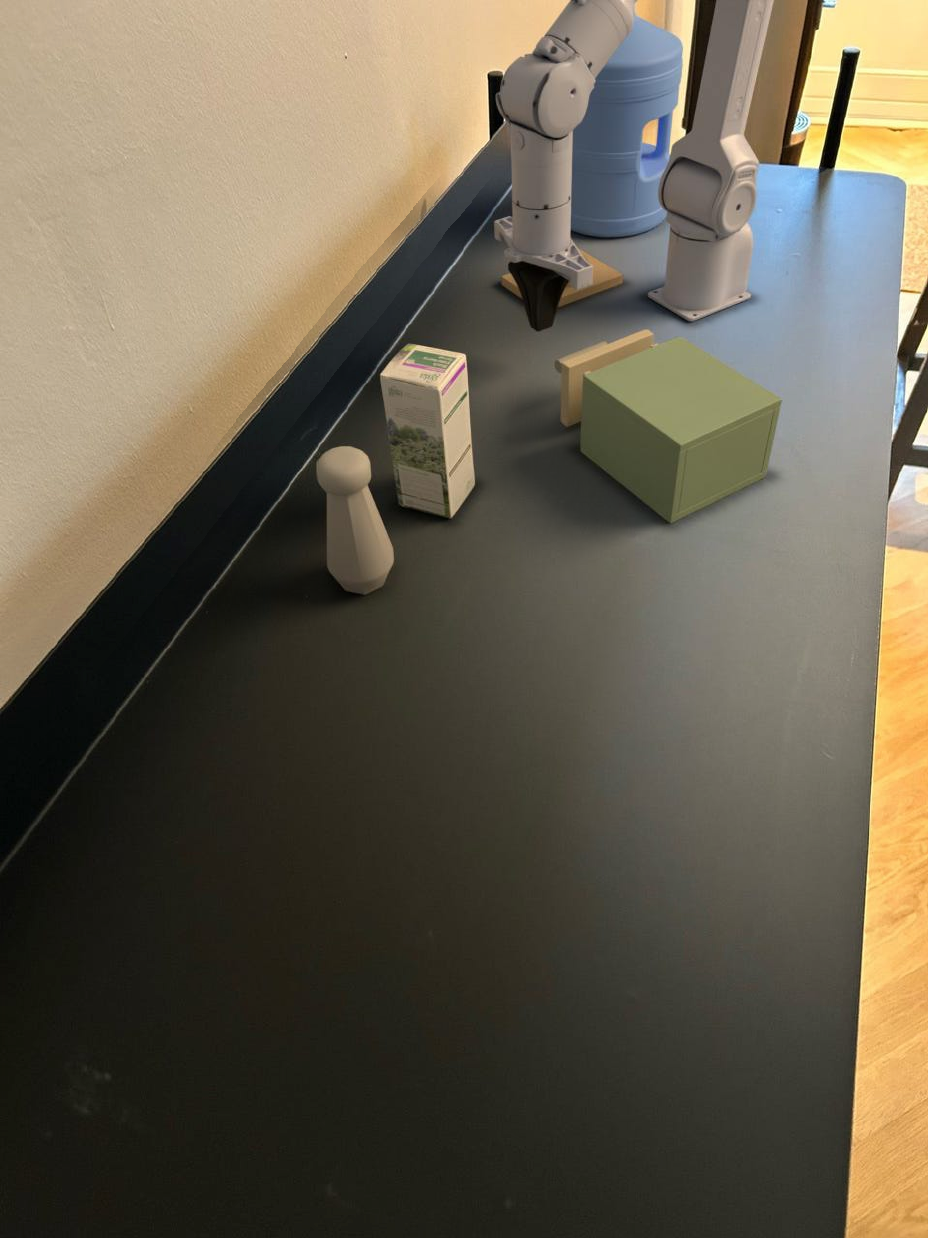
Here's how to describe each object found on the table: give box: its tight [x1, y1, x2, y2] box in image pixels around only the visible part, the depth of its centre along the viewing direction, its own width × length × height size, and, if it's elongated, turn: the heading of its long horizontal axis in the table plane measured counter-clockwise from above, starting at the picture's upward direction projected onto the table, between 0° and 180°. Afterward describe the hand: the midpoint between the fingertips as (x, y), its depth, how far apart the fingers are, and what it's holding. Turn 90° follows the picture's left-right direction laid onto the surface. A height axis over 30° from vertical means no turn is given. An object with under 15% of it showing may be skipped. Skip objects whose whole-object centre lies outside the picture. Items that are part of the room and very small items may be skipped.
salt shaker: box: [316, 445, 395, 596], centre depth 78 cm, size 6×6×13 cm
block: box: [500, 248, 624, 308], centre depth 117 cm, size 12×9×3 cm
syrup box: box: [379, 342, 476, 519], centre depth 85 cm, size 6×6×14 cm
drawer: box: [554, 328, 660, 428], centre depth 93 cm, size 17×10×7 cm, turn 32°
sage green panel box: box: [580, 335, 783, 524], centre depth 89 cm, size 14×12×9 cm
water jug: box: [571, 5, 684, 238], centre depth 121 cm, size 16×16×28 cm
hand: (541, 326), depth 102 cm, fingers closed
